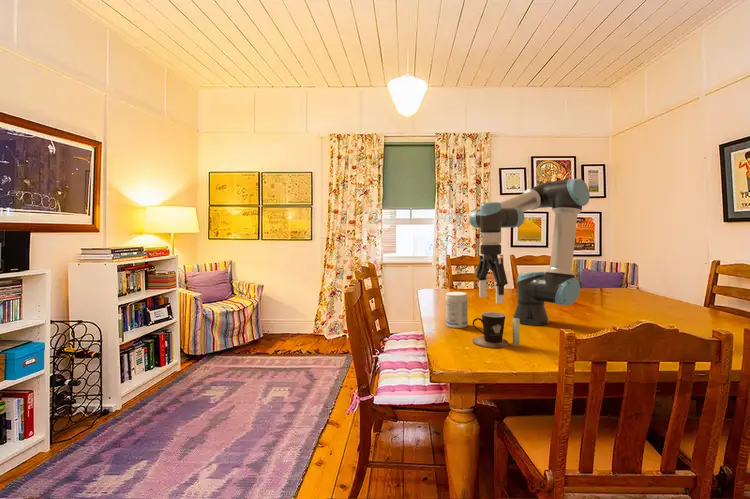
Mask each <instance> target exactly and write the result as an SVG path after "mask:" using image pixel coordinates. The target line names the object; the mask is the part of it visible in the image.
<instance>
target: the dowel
mask: <svg viewBox="0 0 750 499" xmlns="http://www.w3.org/2000/svg"><path fill="white" fill-rule="evenodd" d="M520 326H521V324H520V319H519V318H513V317H512V346H513V347H519V346H520V332H521V331H520V330H521V328H520Z"/></svg>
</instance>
